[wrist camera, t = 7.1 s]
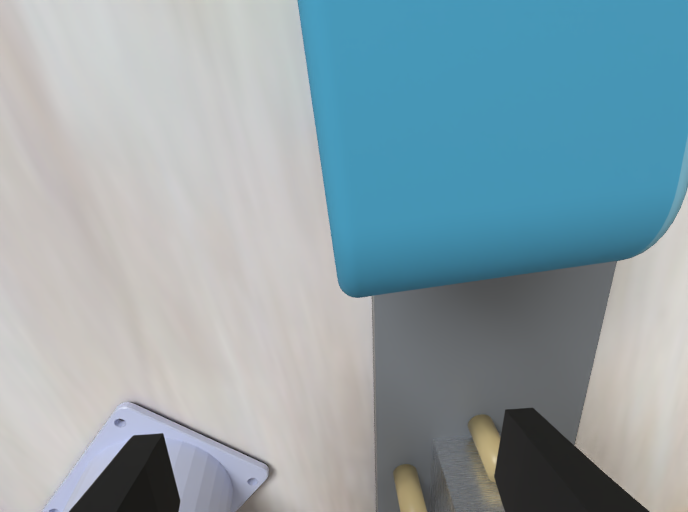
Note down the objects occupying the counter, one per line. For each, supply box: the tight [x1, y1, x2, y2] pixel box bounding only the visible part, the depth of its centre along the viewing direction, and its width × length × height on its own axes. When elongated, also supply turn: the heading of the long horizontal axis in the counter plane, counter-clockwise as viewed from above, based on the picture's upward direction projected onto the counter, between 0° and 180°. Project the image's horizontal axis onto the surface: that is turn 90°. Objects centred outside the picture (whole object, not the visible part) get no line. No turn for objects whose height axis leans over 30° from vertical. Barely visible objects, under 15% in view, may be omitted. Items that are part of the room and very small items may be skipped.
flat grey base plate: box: [372, 261, 617, 512], centre depth 22 cm, size 21×10×4 cm, turn 2°
